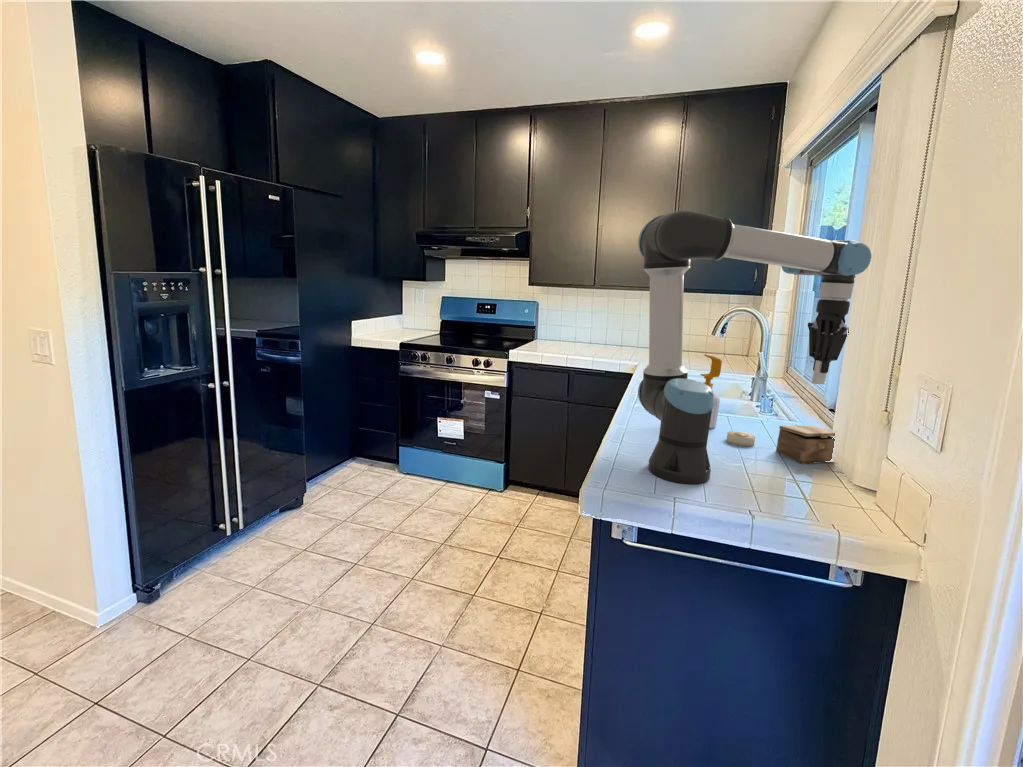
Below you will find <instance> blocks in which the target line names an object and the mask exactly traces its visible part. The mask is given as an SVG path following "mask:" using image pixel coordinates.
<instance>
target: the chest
mask: <svg viewBox="0 0 1023 767" xmlns="http://www.w3.org/2000/svg"><path fill="white" fill-rule="evenodd" d="M820 437H821V436H803V435H800V434H796V433H793V432H789V431H786V430H783V429H779V431H778V437H777V443H776V449H775V452H777V453H778V454H781V455H783V456H785V457H786V458H789V459H791V460H793V461H795V462H797V463H799V464H803V463H806V464H815V463H814V462H825V461H830V460H831V459H832V453H833V448H834V441H835V439H834V438H835V437H834V436H827V438H820ZM833 437H834V438H833ZM832 438H833V439H832Z"/></svg>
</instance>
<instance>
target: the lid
mask: <svg viewBox="0 0 1023 767" xmlns="http://www.w3.org/2000/svg"><path fill="white" fill-rule="evenodd" d="M780 429H783V430H786V431H789V432H793V433H796V434H800V435H803V436H821V437H820V438H827V436H832V437H836V436H835V432H836V431H835V432H833V431H834V430H832V429H831V430H830V429H828V428H827V429H826V428H823V427H819V426H816V425H779V430H780Z"/></svg>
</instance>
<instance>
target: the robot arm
mask: <svg viewBox="0 0 1023 767" xmlns="http://www.w3.org/2000/svg"><path fill="white" fill-rule="evenodd" d="M637 240H638V243H637V245H638V249H639V250H638V251H639V252H640V254H641V255H642V258H643V271H644V272H645V273H646V274H647V275H648V276H649V312H648V314H649V318H648V321H649V324H648V325H649V326H648V327H649V328H648V332H649V335H648V337H649V338H648V342H649V344H648V345H649V346H648V347H649V348H648V365H647V366H646V367H645V368H643V374H642V375H643V376H642V377H643V379H642V380H641V381H640V382H639V385H638V389H637V396H638V400H639V402H640V404H641V406H642V407H643V408H644V410H645V411H646V412H647V413H648V414H650V415H651V416H654V417H655V418H656V419H658V420H659V421H660V424H659V426H660V427H659V433H658V439H657V440H658V441H657V442H656V444H655V446H654V448H653V451H652V452H651V455H650V457H649V458H648V463H647V464H648V465H647V469H648V470H650V471H649V472H650V473H651V474H653V475H655V476H656V477H659V478H661V479H663V480H666V481H668V482H673V483H680V484H688V485H691V484H692V485H695V484H696V485H697V484H702V483H706V482H708V481H709V480H710V477H711V472H712V471H711V470H712V469H711V463H710V459H709V454H708V448H707V446H708V440H709V434H710V429H709V427H710V421H711V414H712V408H713V405H714V401H713V397H714V394H713V392H714V391H712V390H713V388H712V389H711V388H710V387H709V386H707V385H706V384H704V383H703V382H701V381H697V380H694V379H689V378H688V369H687V368H686V367H685V366H683V364H682V363H683V362H682V361H683V333H684V332H683V330H684V326H683V325H684V324H683V322H684V320H683V318H684V315H683V314H684V285H685V284H684V283H685V282H684V281H685V276H684V275H685V274H686V272H688V271H689V269H691V260H713V261H720V260H721V259H723V258H726V259H727V258H728V259H735V260H739V261H740V260H741V261H747V262H753V263H760V264H765V265H771V266H772V265H773V266H778V267H781V269H782V271H783V273H785V274H790V275H794V276H798V275H799V276H800V275H801V276H816V277H817V276H819V277H821V283H820V288H819V293H818V297H819V299H818V300H817V304H816V309H815V311H816V313H817V316H816V318H815V320H814V321H812V322H807V328H808V331H809V332H808V333H809V334H808V338H809V339H808V345H809V346H808V347H809V349H808V353H809V354H808V356H809V357H811V358H813V361H814V362H813V365H812V366H813V367H812V371H813V374H812V380H811V384H813V385H824V384H825V380H826V375H827V374H828V372H829V369H830V363H831V362H832V361H838V359H839V357H840V356H841V355H840V354H841V352H842V349H843V347H844V345H845V342H846V340H847V338H848V336H847V330H848V333H849V327H850V326H848V325H847V324H846V318H845V317H846V315H848V314H849V311H850V305H851V302H850V301H849V300H851V298H852V294H853V288H854V284H855V280H854V278H855V279H856V276H855V275H859V274H862V273H863V272H865V271H866V270H867V268H868V267H869V266H870V263H871V261H872V251H871V249H870V247H869V246H868V245H867V244H865V243H863V242H859V240H858V241H857V240H850V239H849V240H847V239H845V240H844V239H839V240H838V239H837V240H836V239H835V240H828V239H822V238H818V237H811V236H805V235H799V234H794V233H787V232H781V231H777V230H769V229H765V228H764V229H763V228H758V227H753V226H747V225H741V224H734V223H733V221H732V220H731V219H730V218H726V217H722V216H717V215H712V214H708V213H707V214H706V213H703V212H699V211H694V210H677V211H673V212H671V213H670V212H669V213H666V214H661V215H658V216H655V217H654V218H652V219H651V220H649V221H648V222H647V223H646V224H645V225H644V226H643V227H642V229H641V230H640V232H639V235H638V239H637ZM849 334H850V333H849ZM846 337H847V338H846Z"/></svg>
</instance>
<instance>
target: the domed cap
mask: <svg viewBox="0 0 1023 767" xmlns="http://www.w3.org/2000/svg"><path fill="white" fill-rule="evenodd" d="M755 441H756V436H755V435H754V434H752V433H750V432H746V431H740V430H739V431H738V430H729V431H727V434H726V442H728V443H729V444H731V445H734V446H739V447H746V448H747V447H750V448H751V447H753V446H755V443H756V442H755Z"/></svg>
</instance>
